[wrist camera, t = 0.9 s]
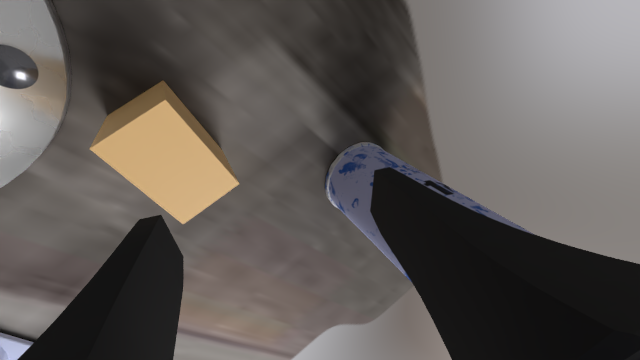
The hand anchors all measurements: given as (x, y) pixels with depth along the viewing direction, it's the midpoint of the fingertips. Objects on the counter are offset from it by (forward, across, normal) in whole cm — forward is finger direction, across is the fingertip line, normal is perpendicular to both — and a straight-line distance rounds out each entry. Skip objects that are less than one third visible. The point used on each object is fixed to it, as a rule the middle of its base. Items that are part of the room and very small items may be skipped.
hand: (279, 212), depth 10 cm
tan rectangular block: (+12, +6, +2) cm, 14 cm away
